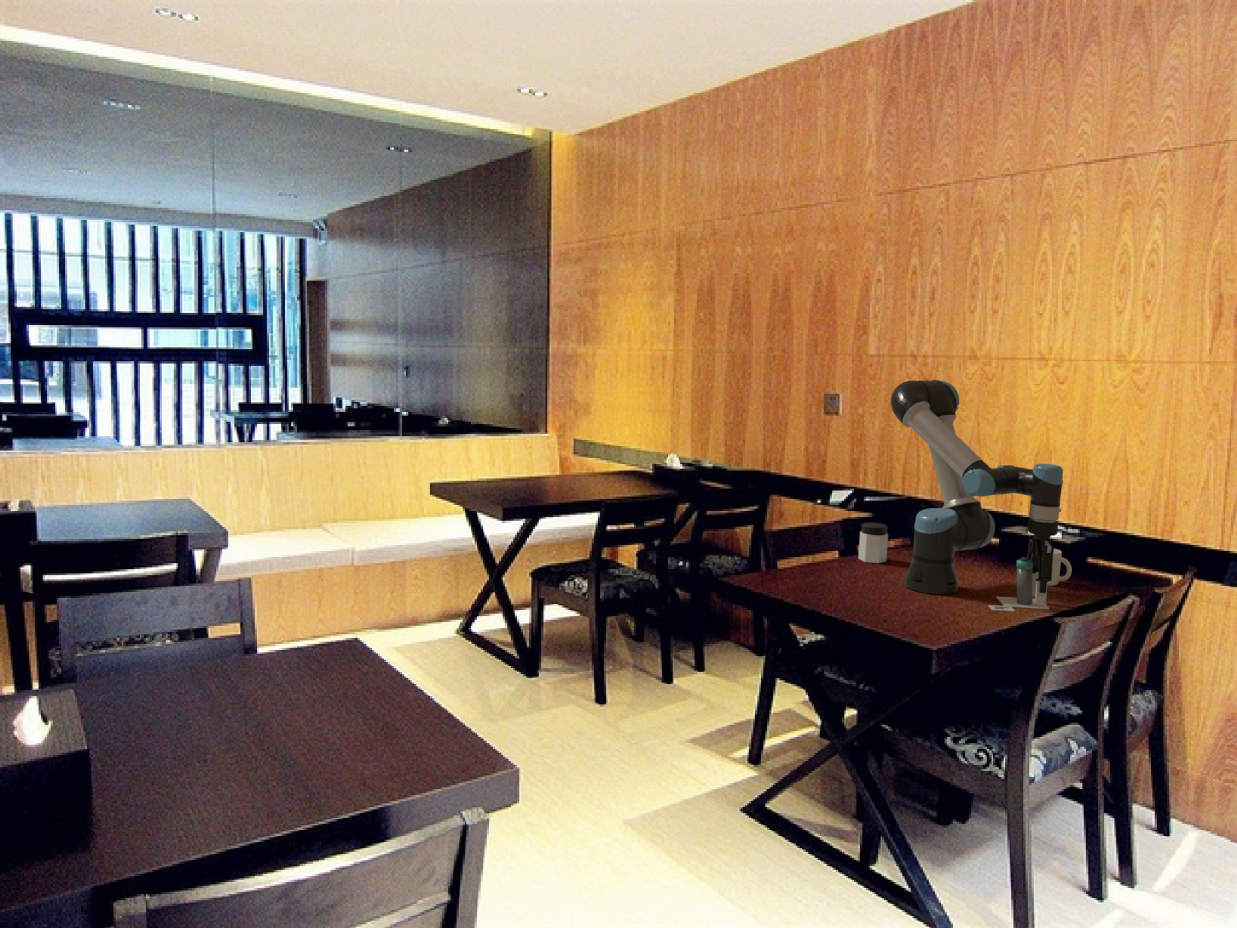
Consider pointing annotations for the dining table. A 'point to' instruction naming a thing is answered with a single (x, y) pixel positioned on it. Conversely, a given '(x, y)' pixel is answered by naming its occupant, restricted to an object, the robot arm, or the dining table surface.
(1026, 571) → the grey teal battery
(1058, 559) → the mug
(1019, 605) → the paper
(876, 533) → the jar
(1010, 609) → the word card
